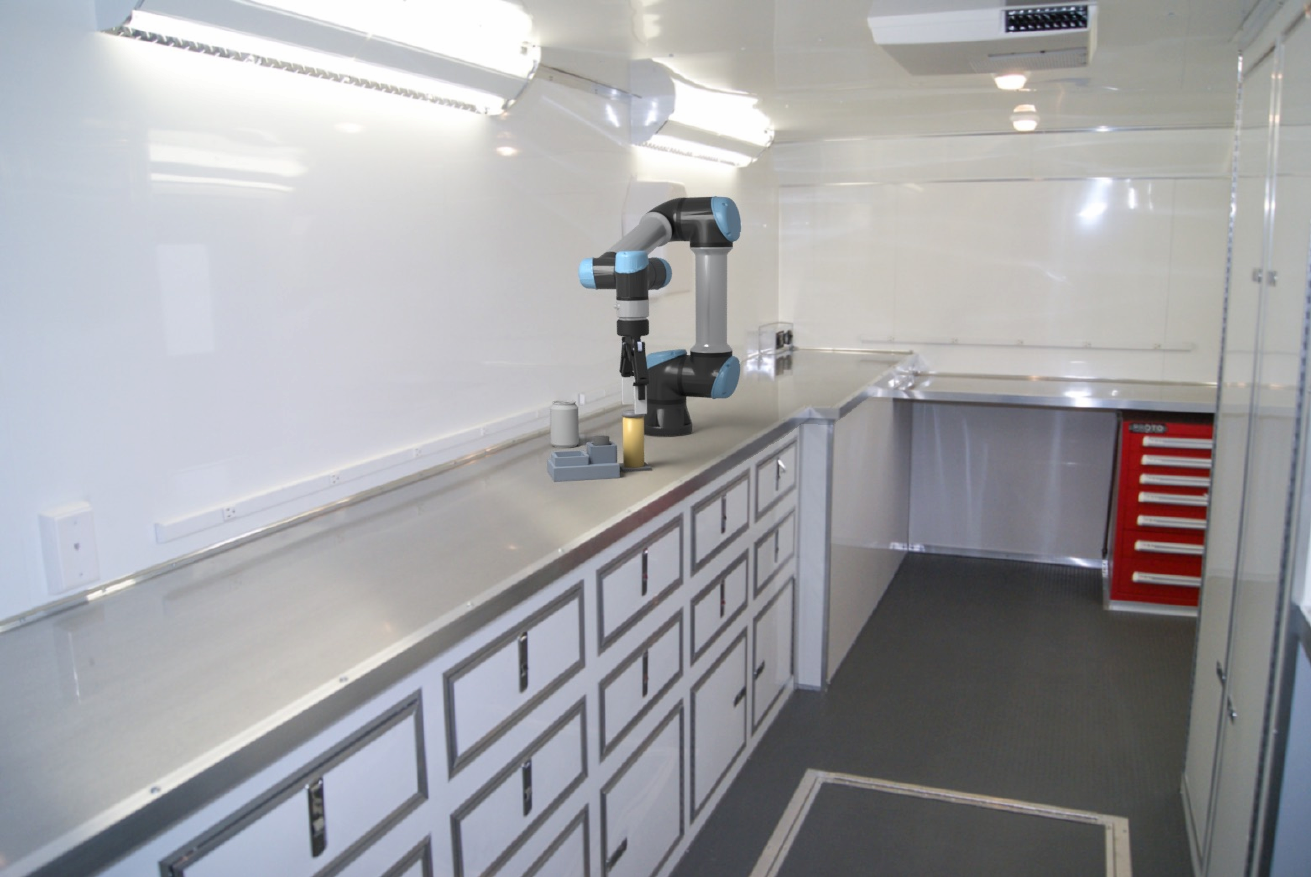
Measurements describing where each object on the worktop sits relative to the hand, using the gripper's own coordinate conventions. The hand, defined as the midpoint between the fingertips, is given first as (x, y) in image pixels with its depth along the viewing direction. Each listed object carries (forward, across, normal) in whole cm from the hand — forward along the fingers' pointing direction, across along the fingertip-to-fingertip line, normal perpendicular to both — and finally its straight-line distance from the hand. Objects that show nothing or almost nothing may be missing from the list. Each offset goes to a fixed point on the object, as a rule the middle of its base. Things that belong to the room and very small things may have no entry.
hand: (634, 408), depth 244 cm
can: (+15, -31, -12) cm, 37 cm away
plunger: (+10, +5, -9) cm, 14 cm away
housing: (+14, +5, -14) cm, 20 cm away
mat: (+14, +1, 0) cm, 14 cm away
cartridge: (+14, 0, 0) cm, 14 cm away
